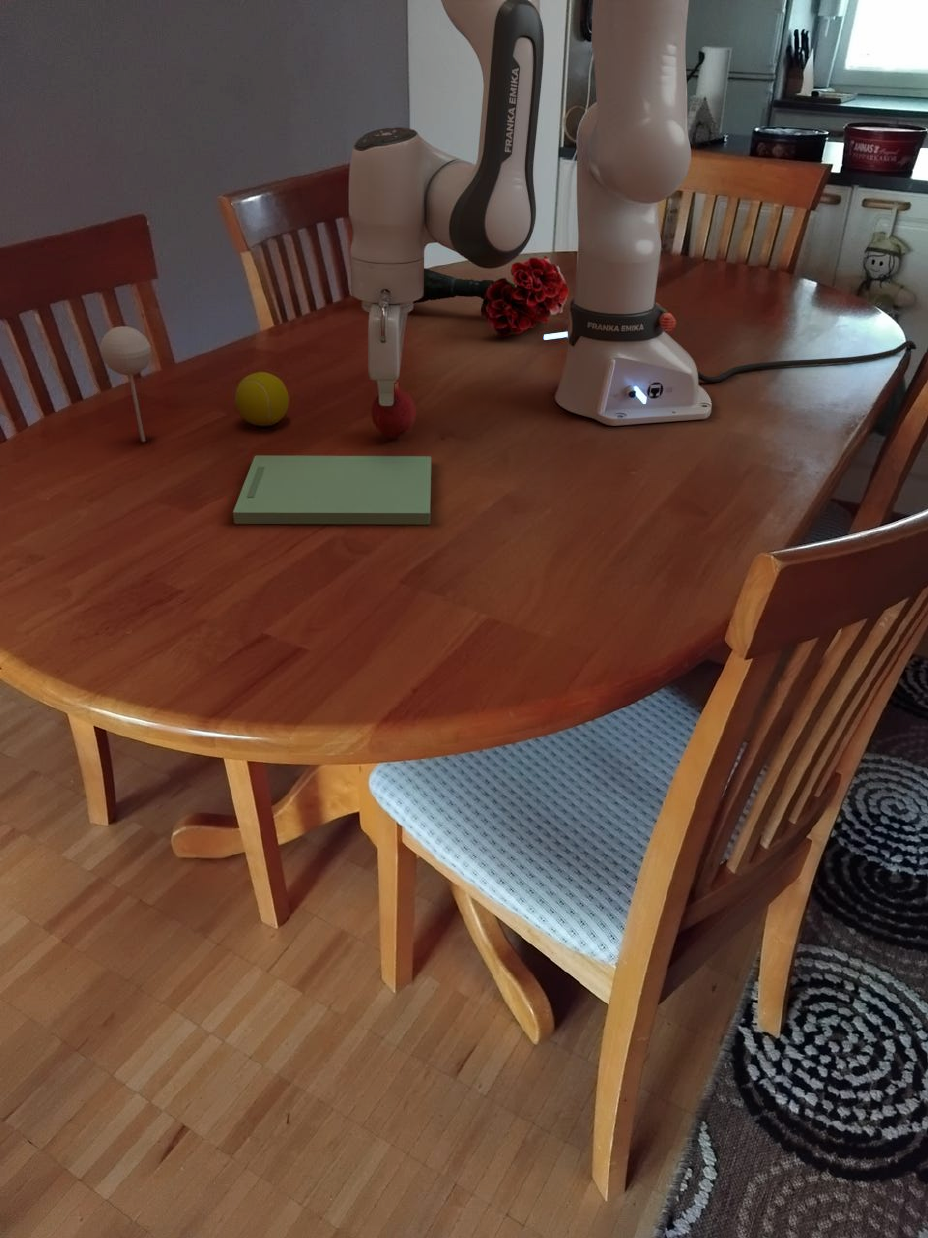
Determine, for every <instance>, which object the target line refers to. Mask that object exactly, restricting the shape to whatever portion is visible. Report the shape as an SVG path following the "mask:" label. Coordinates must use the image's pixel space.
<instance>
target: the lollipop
mask: <svg viewBox="0 0 928 1238" xmlns="http://www.w3.org/2000/svg"><path fill="white" fill-rule="evenodd" d="M99 353H100V356H101V358H102V360H103V362H104V364H106V366H107V367H108V368H109V369H110V370H112V371H113V372H114V373H116V374H118V375H122V376H128V379H129V383H130V388H131V394H132V398H133V403H134V409H135V414H136V418H137V424H138V429H139V434H140V439H141V442H142V443H145V442H146V437H145V432H144V427H143V421H142V415H141V411H140V405H139V400H138V396H137V391H136V385H135V380H134V375H137V374H139V373H141V372H143V371H144V370H145V369H146V368H147V367H148V365H149V363H150V361H151V355H152V347H151V343H150V342H149V340H148V338H146V336H145V335H144V334H143V333H142V332H141V331H139V330H138V329H136V328H135V327H132V326H131V327H130V326H126V325H123V326H122V325H121V326H116V327H113V328H111V329H110V330H109V331H107V332H106V333H105V334H104V337H103V338H102V340H101V343H100V346H99Z"/></svg>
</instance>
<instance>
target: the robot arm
mask: <svg viewBox="0 0 928 1238" xmlns="http://www.w3.org/2000/svg"><path fill="white" fill-rule="evenodd" d="M440 2H441V5H442V7H443V10H444V12H445V14H446V15H447V17H448V19H449V21H450V22H451V23H452V25H453V26H454V28H455V29H456V30H457V31H458V32H459V33H460V34H461V35H462V36H463V37H464V38H465V40H466V41H467V42H468V43H469V45H470V46H471V48H472V50H473V51H474V53H475V55H476V57H477V59H478V62H479V65H480V68H481V73H482V79H483V80H482V82H483V89H482V90H483V92H482V103H481V116H480V127H479V137H478V138H479V139H478V151H477V160H476V163H473V162H470V161H467V160H464V159H461V158H459V157H456V156H453V155H451V154H449V153H446V152H444V151H443V150H441V149H439V148H437V147H435V146H434V145H433V144H431V143H429V142H428V141H427V140H425V139H424V138H423V137H421V135H420V134H419V132H418V131H417V130H415V129H413V128H409V127H398V126H397V127H384V128H379V129H375V130H372V131H369V132H367V133H365V134H363V135H362V136H361V137H359V138H358V139H357V141H356V142H354V145H353V148H352V151H351V155H350V160H349V162H350V163H349V169H348V217H349V221H350V225H351V228H352V240H351V243H350V249H349V263H350V293H351V295H352V297H354V298H355V299H356V300H359V301H361V309H362V310H363V311H364V312H366V313H369V314H368V320H367V321H368V322H367V369H368V370H367V372H368V377H369V379H370V380H372V381H376V385H377V392H378V395H379V404H380V405H382V406H392V405H393V401H394V381H398V380H399V378H400V374H401V366H402V365H401V364H402V357H403V349H404V342H405V341H404V340H405V333H406V326H407V320H408V314H409V313H410V312H412V311H414V304H413V301H416V300H419V299H420V298H422V297H423V295H424V268H425V249H426V246H428V245H429V244H436V243H437V244H439V245H441V246H442V247H444V248H447V249H449V250H451V251H453V252H455V253H457V254H459V256H461V257H462V258H465V259H466V260H467V261H468V262H470V263H472V264H473V265H475V266H476V267H479V268H482V269H489V270H492V269H498V268H501V267H503V266H506V265H508V264H509V263H511V262H512V261H514V260H515V259H516V258H517V257H518V256H520V254H521V253H522V252H523V251H524V249H525V248H526V247H527V245H528V243H529V242H530V240H531V237H532V235H533V232H534V230H535V225H536V218H537V202H536V193H535V185H534V184H535V183H534V163H535V151H536V143H537V142H536V141H537V132H538V123H539V122H538V121H539V112H540V102H541V92H542V81H543V70H544V56H545V33H544V25H543V21H542V18H541V5H540V4H541V0H440ZM592 2H593V3H592V15H591V16H592V18H591V19H592V20H591V36H590V37H591V39H590V42H591V48H592V55H593V62H594V63H593V66H594V78H595V79H594V80H595V97H596V101H595V102H594V103H593V104H592V105H590V106H589V107H588V108H587V110H586V111H585V112H584V114H583V115H582V117H581V119H580V121H579V123H578V127H577V131H576V207H577V208H576V214H577V252H576V253H577V255H576V267H575V280H574V291H573V292H574V293H573V298H572V299H571V300H570V304H569V306H570V307H569V310H568V317H567V329H566V331H563V332H555V333H547V334H544V335H543V340H545V341H546V340H554V339H562V338H567V342H568V346H567V351H566V357H565V361H564V366H563V370H562V374H561V377H560V380H559V384H558V387H557V389H556V392H555V394H554V401H555V402H556V403H557V404H558V405H559V406H560V407H561V408H563V409H564V410H566V411H568V412H570V413H573V414H576V415H580V416H583V417H586V418H591V419H594V420H596V421H597V422H600V423H601V424H603V425H607V426H610V427H611V426H612V427H613V426H615V427H616V426H617V427H618V426H631V425H643V424H656V423H670V422H682V421H683V422H684V421H695V420H696V421H697V420H706V419H708V418H709V417H710V415H711V414H712V408H713V407H712V406H713V404H712V403H713V402H712V400H711V397H710V395H709V394H708V392H707V391H706V390H705V389H704V388H703V387H702V386H701V385H699V380H700V381H702V382H704V383H708V384H716V383H717V384H718V383H721V382H722V381H725V380H726V379H727V378H729V377H731V376H732V375H734V374H737V373H741V372H746V371H754V370H760V369H770V368H771V369H772V368H782V367H784V368H785V367H798V366H799V367H800V366H801V367H802V366H819V365H833V364H847V363H849V364H850V363H858V362H867V361H872V360H879V359H883V358H884V359H885V358H887V357H892V356H894V355H895V356H896V355H897V354H899V353H900V352H902V351H903V350H905V349H906V348H908V347H909V348H910V349H911V350H917V345H916V344H915V342H914V341H912V340H906V341H904V342H902V343H901V344H900V345H899V346H897V347H896V348H893V349H889V350H886V351H881V352H877V353H871V354H864V355H857V356H846V357H831V358H829V357H828V358H815V359H794V360H793V359H792V360H779V361H767V362H758V363H749V364H744V365H738V366H734V367H732V368H730V369H728V370H726V371H725V372H723V373H722V374H720V375H718V376H707V375H705V374H703V373H702V372H700V371H698V368H697V364H696V362H695V360H694V359H693V358H692V355H690V353H689V352H688V351H687V350H686V349H684V348H683V347H682V346H681V345H680V344H679V342H677V341H676V340H675V339H673V338H672V337H671V336H670V335H669V334H668V333H667V332H670V331H673V330H674V328H675V327H676V325H677V320H676V319H675V317H674V316H673V314H672V313H670V312H668V311H667V309H665V308H664V307H663V306H661V305H660V304H659V303H658V302H655V301H656V293H657V286H658V284H657V283H658V279H659V278H658V277H659V270H660V264H661V263H660V261H661V254H662V239H661V233H660V232H661V231H660V219H659V202H663V201H665V199H668V198H669V197H671V196H672V195H673V194H674V193H675V192H676V191H678V189H679V188H680V187H681V185H682V184H683V183H684V181H685V180H686V178H687V175H688V173H689V170H690V166H691V162H692V148H691V142H690V137H689V132H688V131H689V130H688V86H687V67H686V65H687V64H686V38H687V25H688V24H687V23H688V13H689V2H690V0H592ZM908 345H909V346H908Z"/></svg>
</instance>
